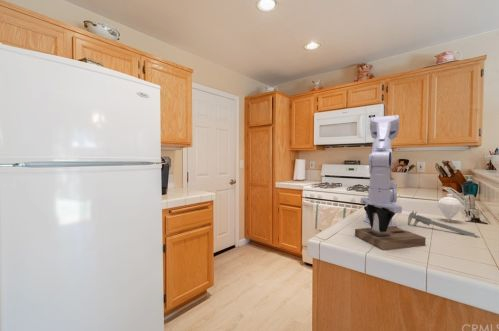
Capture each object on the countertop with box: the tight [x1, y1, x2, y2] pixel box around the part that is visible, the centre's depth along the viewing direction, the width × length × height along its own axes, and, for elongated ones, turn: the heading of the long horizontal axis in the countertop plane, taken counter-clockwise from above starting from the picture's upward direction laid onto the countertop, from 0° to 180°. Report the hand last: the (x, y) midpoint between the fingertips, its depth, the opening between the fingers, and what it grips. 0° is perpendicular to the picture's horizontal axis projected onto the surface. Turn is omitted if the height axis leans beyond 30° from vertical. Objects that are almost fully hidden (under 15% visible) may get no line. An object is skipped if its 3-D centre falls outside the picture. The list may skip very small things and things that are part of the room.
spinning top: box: [437, 193, 463, 223], centre depth 95 cm, size 8×8×12 cm
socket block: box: [354, 226, 427, 251], centre depth 73 cm, size 12×16×2 cm
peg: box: [372, 212, 387, 237], centre depth 72 cm, size 3×3×8 cm
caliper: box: [407, 210, 481, 239], centre depth 83 cm, size 20×1×6 cm, turn 46°
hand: (378, 229), depth 72 cm, fingers closed on peg, 3 cm apart
